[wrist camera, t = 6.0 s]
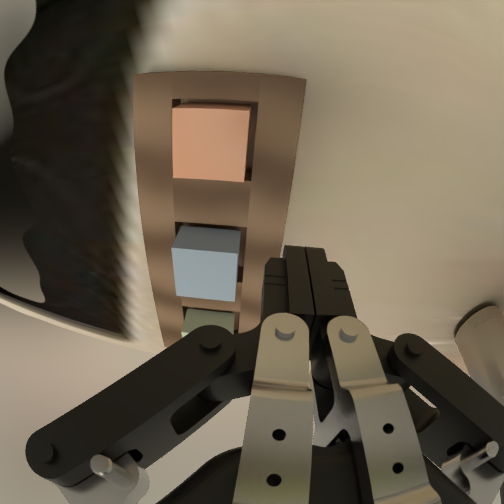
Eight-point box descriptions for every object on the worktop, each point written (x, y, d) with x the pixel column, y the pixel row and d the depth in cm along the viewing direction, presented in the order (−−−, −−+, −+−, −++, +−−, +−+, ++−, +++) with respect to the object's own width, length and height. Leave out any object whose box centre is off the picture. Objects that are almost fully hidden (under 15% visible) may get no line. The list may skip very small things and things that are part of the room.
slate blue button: (237, 276, 27) (234, 301, 24) (184, 271, 27) (176, 295, 24) (240, 230, 24) (237, 253, 22) (181, 225, 24) (171, 247, 21)
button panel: (261, 338, 37) (261, 357, 34) (169, 328, 36) (164, 346, 34) (300, 78, 19) (306, 79, 17) (148, 73, 19) (133, 74, 16)
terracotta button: (246, 167, 22) (243, 182, 20) (183, 163, 22) (172, 177, 20) (251, 105, 19) (249, 111, 17) (184, 102, 19) (172, 108, 17)
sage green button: (233, 341, 33) (230, 364, 30) (190, 337, 33) (185, 359, 30) (234, 313, 30) (232, 337, 27) (187, 308, 30) (181, 331, 27)
